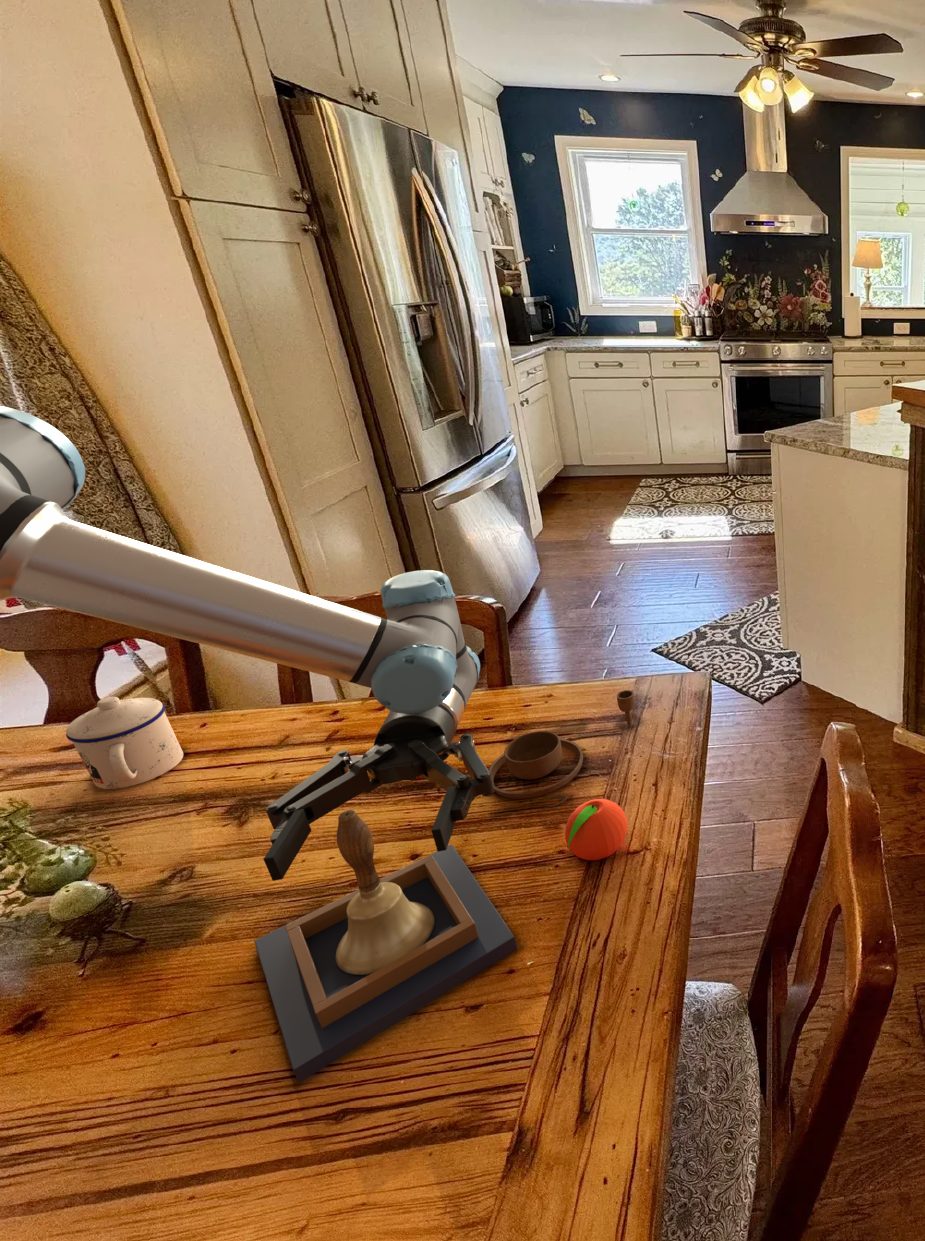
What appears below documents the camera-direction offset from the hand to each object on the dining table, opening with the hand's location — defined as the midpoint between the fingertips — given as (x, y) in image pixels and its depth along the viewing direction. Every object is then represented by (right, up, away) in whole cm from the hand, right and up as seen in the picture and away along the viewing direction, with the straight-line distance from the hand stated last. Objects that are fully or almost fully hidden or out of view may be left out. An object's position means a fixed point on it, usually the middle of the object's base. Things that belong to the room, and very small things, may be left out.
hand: (358, 854), depth 67 cm
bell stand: (0, -12, +5) cm, 13 cm away
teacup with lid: (-50, -1, +28) cm, 57 cm away
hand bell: (0, -10, +4) cm, 11 cm away
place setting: (+6, -1, +32) cm, 33 cm away
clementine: (+16, -7, +18) cm, 25 cm away
